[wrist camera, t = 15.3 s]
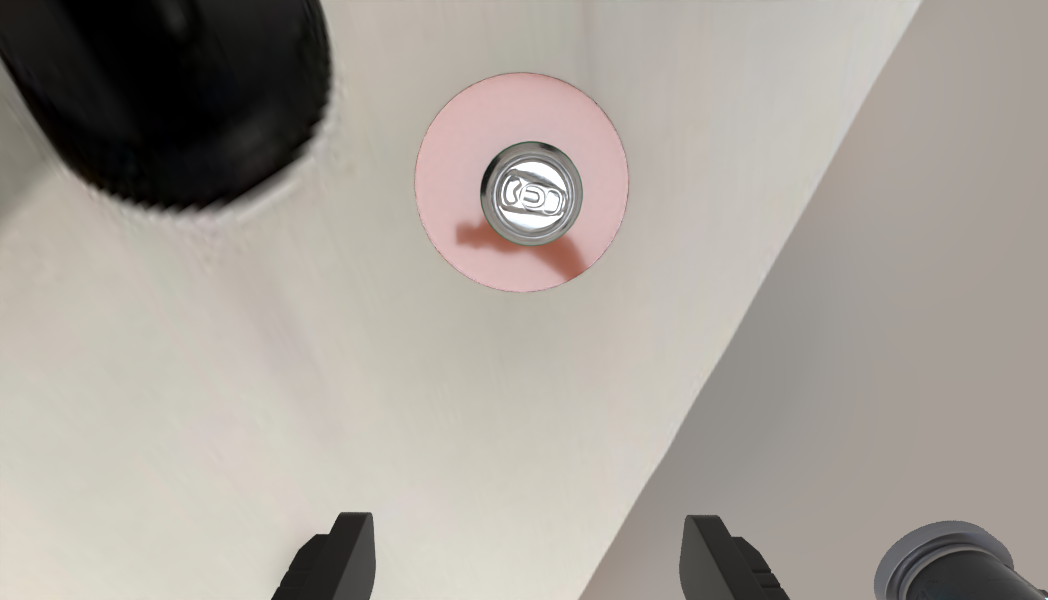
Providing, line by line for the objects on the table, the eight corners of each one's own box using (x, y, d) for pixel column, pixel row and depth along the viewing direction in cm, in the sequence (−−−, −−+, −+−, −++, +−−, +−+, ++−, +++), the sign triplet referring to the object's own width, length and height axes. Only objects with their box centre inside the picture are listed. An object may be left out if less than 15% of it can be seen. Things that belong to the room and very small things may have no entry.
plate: (650, 97, 34) (651, 97, 34) (602, 306, 38) (602, 307, 38) (430, 51, 33) (430, 51, 33) (402, 272, 37) (402, 273, 36)
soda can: (497, 139, 34) (492, 126, 23) (568, 158, 35) (599, 156, 23) (480, 212, 35) (467, 235, 24) (549, 229, 36) (569, 261, 24)
